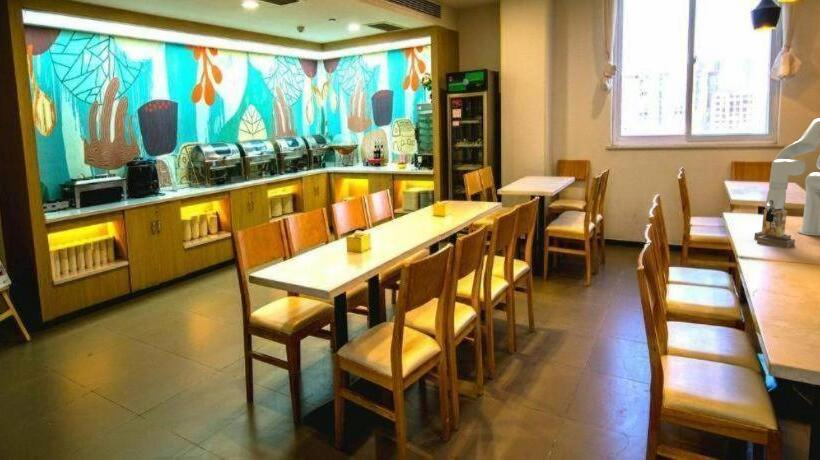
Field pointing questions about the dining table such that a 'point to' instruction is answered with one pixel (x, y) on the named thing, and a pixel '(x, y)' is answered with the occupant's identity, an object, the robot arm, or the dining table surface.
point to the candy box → (775, 224)
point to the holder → (774, 240)
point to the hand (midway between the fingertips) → (773, 220)
